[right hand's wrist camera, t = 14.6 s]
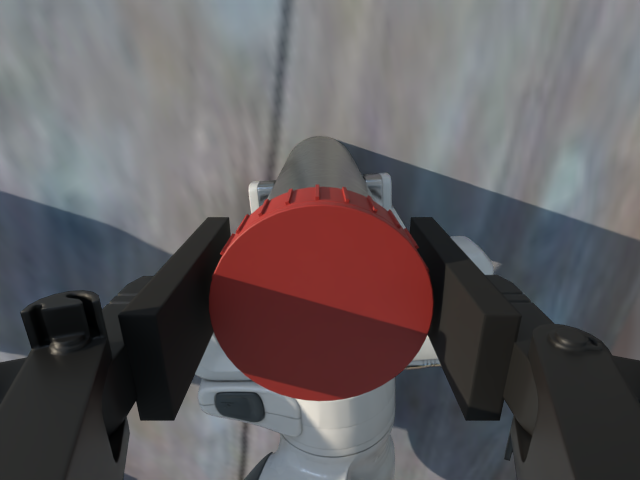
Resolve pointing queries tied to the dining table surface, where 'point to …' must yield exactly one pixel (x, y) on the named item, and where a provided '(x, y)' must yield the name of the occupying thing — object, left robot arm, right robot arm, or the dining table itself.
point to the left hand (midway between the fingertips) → (318, 178)
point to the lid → (321, 295)
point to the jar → (320, 168)
